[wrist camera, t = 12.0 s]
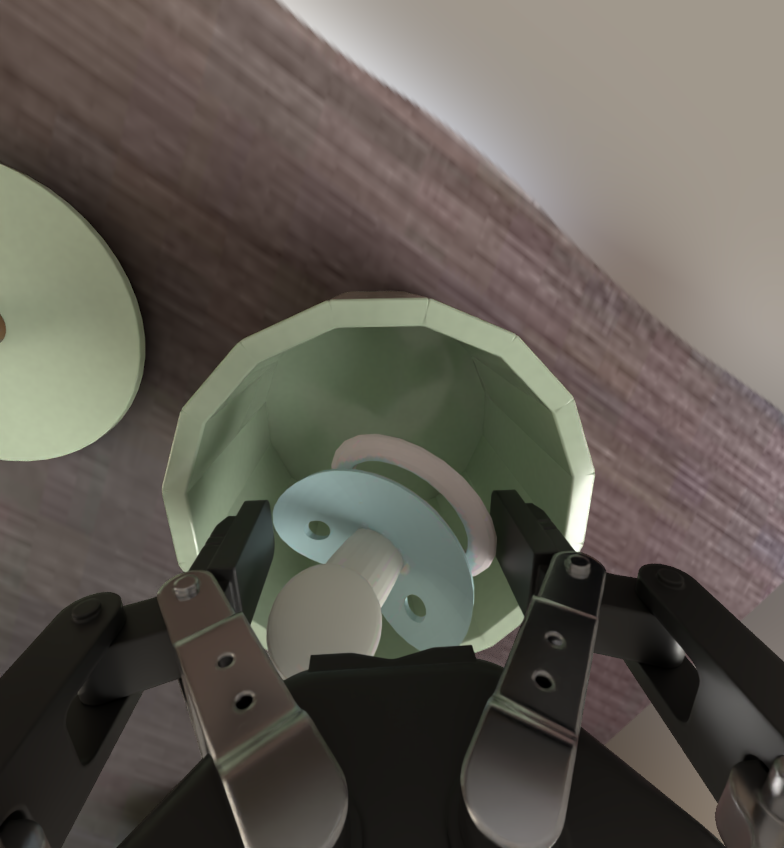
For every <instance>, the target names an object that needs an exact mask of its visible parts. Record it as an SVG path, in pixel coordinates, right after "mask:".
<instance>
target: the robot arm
mask: <svg viewBox="0 0 784 848" xmlns="http://www.w3.org/2000/svg"><path fill="white" fill-rule="evenodd" d="M490 516H491V518H492V521H493V525H494V528H495V532H496V536H497V547H496V555H495V556H496V558H497V560H498V562H499V564H500V567H501V569H502V571H503V573H504V575H505V577H506V579H507V581H508V584H509V586H510V588H511V590H512V592H513V594H514V596H515V598H516V601H517V603H518V605H519V607H520V609H521V611H522V613H523V615H524V618H523V621H522V623H521V626H520V629H519V631H518V634H517V636H516V639H515V641H514V644H513V646H512V649H511V651H510V654H509V656H508V659H507V662H506V664H505V667H504V668H503V667H501V666H499V665H497V664H494V663H492V662H488V661H485V660H481V659H476V657H475V653H474V650H473V646H472V645H462V646H446V647H432V648H429V649H426V650H422V651H419V652H416V653H413V654H409V655H406V656H403V657H399V658H396V659H387V658H381V657H375V656H369V655H363V654H357V653H335V654H319V655H311V656H310V662H309V669H308V670H305V671H302V672H299V673H297V674H295V675H292V676H291V677H289V678H287V679H285V680H282V678H281V676H280V675H279V673H278V671H277V670H276V668H275V666H274V665H273V663H272V661H271V659H270V658H269V656H268V654H267V653H266V651H265V649H264V648H263V646H262V644H261V642H260V641H259V639H258V637H257V636H256V634H255V632H254V631H253V629H252V627H251V622H252V619H253V616H254V613H255V610H256V607H257V604H258V601H259V598H260V596H261V593H262V590H263V587H264V584H265V581H266V578H267V575H268V572H269V569H270V566H271V563H272V560H273V556H274V549H275V540H274V532H273V524H272V517H271V509H270V503H269V501H268V500H248V501H244V503H243V504H242V506H241V508H240V510H239V511H238V513H237V515H236V516H228V517H226V518H225V519H224V520H222V521H221V522H220V523H219V524H217V525H216V527H215V528H214V530H213V532H212V533H211V535H210V537H209V538H208V540H207V541H206V543H205V546H203V548H202V549H201V551H200V553H199V554H198V556H197V557H196V559H195V561H194V562H193V564H192V566H191V567H190V569H189V570H188V571H187V572H184V573H181V574H179V575H176V576H175V577H173V578H171V579H170V580H168V581H167V582H166V583H164V584H163V585H162V587H161V588H160V589H159V591H158V593H157V597H154V598H151V599H148V600H144V601H141V602H137V603H133V604H129V605H126V606H123V604H122V601H121V598H120V596H119V595H117V594H115V593H111V592H103V593H97V594H93V595H89V596H86V597H84V598H81V599H79V600H77V601H75V602H74V603H72V604H70V605H69V606H67V607H66V608H65V609H63V610H62V611H61V612H60V613H59V614H58V615H57V616H56V617H55V618H54V619H53V620H52V622H51V623H50V624H49V625H48V626H47V627H46V628H45V629H44V630H43V632H42V633H41V634H40V635H39V636H38V637H37V638H36V639H35V640H34V641H33V643H32V644H31V645H30V646H29V647H28V648H27V649H26V650H25V651H24V653H23V654H22V655H21V656H20V657H19V658H18V659H17V660H16V661H15V662H14V664H13V665H12V666H11V667H10V668H9V669H8V670H7V671H6V672H5V673H4V675H3V676H2V677H1V678H0V848H61V847H62V845H63V843H64V841H65V839H66V837H67V836H68V834H69V832H70V830H71V828H72V826H73V824H74V822H75V820H76V818H77V817H78V815H79V813H80V811H81V809H82V807H83V805H84V803H85V801H86V799H87V797H88V796H89V794H90V792H91V790H92V788H93V786H94V784H95V782H96V780H97V778H98V777H99V775H100V773H101V771H102V769H103V767H104V765H105V763H106V761H107V759H108V758H109V756H110V754H111V752H112V750H113V748H114V746H115V744H116V742H117V740H118V738H119V737H120V735H121V733H122V731H123V729H124V727H125V725H126V723H127V721H128V719H129V718H130V716H131V714H132V712H133V710H134V708H135V706H136V704H137V702H138V700H139V698H140V697H141V695H142V693H143V691H144V690H147V689H150V688H153V687H156V686H158V685H161V684H164V683H167V682H170V681H173V680H176V679H178V683H179V686H180V689H181V692H182V695H183V698H184V701H185V704H186V708H187V711H188V714H189V717H190V720H191V723H192V726H193V729H194V733H195V736H196V739H197V743H198V746H199V750H200V753H201V757H202V760H201V761H200V762H199V763H198V764H197V765H196V766H195V767H194V768H193V769H192V770H191V771H190V772H189V773H188V774H187V775H186V776H185V777H184V778H183V779H182V780H181V781H180V782H179V784H178V785H177V786H176V787H175V788H174V789H173V790H172V791H171V792H170V793H169V794H168V795H167V796H166V797H165V798H164V799H163V800H162V801H161V802H160V803H159V804H158V805H157V806H156V807H155V808H154V809H153V810H152V811H151V813H150V814H149V815H148V816H147V817H146V818H145V819H144V820H143V821H142V822H141V823H140V824H139V825H138V826H137V827H136V828H135V829H134V830H133V831H132V832H131V833H130V834H129V835H128V836H127V837H126V838H125V839H124V840H123V842H122V843H121V844H120V845H119V846H118V847H117V848H784V662H783V661H782V660H781V659H780V658H779V657H778V656H777V655H776V654H775V653H774V652H773V651H772V650H770V649H769V648H768V647H767V646H766V645H765V644H764V643H763V642H762V641H761V640H760V639H759V638H757V637H756V636H755V635H754V634H753V633H752V632H751V631H750V630H749V629H748V628H746V626H744V625H743V624H742V623H741V622H740V621H739V620H738V619H737V618H736V617H735V616H734V615H733V614H732V613H731V612H729V611H728V610H727V609H726V608H725V607H724V606H723V605H722V604H721V603H720V602H719V601H718V600H716V599H715V598H714V597H713V596H712V595H711V594H710V593H709V592H708V591H707V590H706V589H705V588H704V587H702V586H701V585H700V584H699V583H698V582H697V581H696V580H695V579H694V578H692V577H691V576H690V575H688V574H687V573H685V572H683V571H681V570H679V569H676V568H674V567H671V566H667V565H662V564H647V565H644V566H642V567H641V568H640V569H639V573H638V577H637V578H633V577H626V576H620V575H614V574H610V573H606V570H605V568H604V566H603V565H602V564H601V563H600V562H599V561H598V560H596V559H595V558H593V557H591V556H589V555H587V554H584V553H581V552H577V551H575V550H574V549H573V548H572V546H571V545H570V544H569V542H568V541H567V540H566V539H565V537H564V536H563V535H562V533H561V532H560V531H559V530H558V529H557V527H556V526H555V524H554V523H553V522H552V521H551V519H550V518H549V517H548V515H547V514H546V513H545V512H544V510H542V509H541V508H539V507H537V506H536V505H534V504H533V503H525V502H524V501H523V499H522V498H521V496H520V495H519V494H518V492H517V491H516V490H515V489H512V490H493V492H492V494H491V505H490ZM593 653H597V654H602V655H606V656H611V657H616V658H620V659H623V660H624V661H625V663H626V665H627V666H628V668H629V669H630V671H631V672H632V674H633V675H634V677H635V678H636V680H637V681H638V683H639V684H640V686H641V687H642V689H643V690H644V692H645V694H646V695H647V697H648V698H649V700H650V701H651V703H652V704H653V706H654V707H655V709H656V710H657V712H658V713H659V715H660V716H661V718H662V719H663V721H664V722H665V724H666V725H667V727H668V728H669V730H670V731H671V733H672V735H673V736H674V737H675V739H676V740H677V742H678V744H679V745H680V746H681V748H682V750H683V751H684V753H685V754H686V756H687V757H688V759H689V760H690V762H691V763H692V765H693V766H694V768H695V769H696V771H697V772H698V774H699V776H700V777H701V778H702V780H703V782H704V783H705V784H706V786H707V788H708V789H709V791H710V792H711V794H712V795H713V797H714V798H715V800H716V801H717V803H718V805H717V808H716V812H715V820H716V825H717V829H718V831H719V834H720V837H721V839H722V840H723V842H724V844H725V846H726V847H725V846H724V845H723V844H722V843H721V842H720V841H719V840H718V839H717V838H716V837H715V836H714V835H713V834H712V833H711V832H710V831H708V830H707V829H706V828H705V827H704V826H703V825H702V824H700V823H699V822H698V821H697V820H695V819H694V818H693V817H692V816H691V815H689V814H688V813H687V812H686V811H684V810H683V809H682V808H681V807H679V806H678V805H677V804H675V803H674V802H673V801H672V800H671V799H670V798H668V797H667V796H666V795H665V794H663V793H662V792H661V791H660V790H658V789H657V788H656V787H655V786H653V785H652V784H651V783H650V782H649V781H647V780H646V779H645V778H644V777H642V776H641V775H640V774H639V773H637V772H636V771H635V770H634V769H632V768H631V767H630V766H629V765H628V764H626V763H625V762H624V761H623V760H621V759H620V758H619V757H618V756H617V755H615V754H614V753H613V752H612V751H610V750H609V749H608V748H607V747H605V746H604V745H603V744H602V743H601V742H599V741H598V740H597V739H596V738H594V737H593V736H592V735H591V734H589V733H588V732H587V731H586V730H584V729H583V728H582V727H581V721H582V716H583V710H584V704H585V698H586V692H587V686H588V681H589V675H590V669H591V663H592V657H593ZM685 653H686V654H687V655H688V656H689V658H690V659H691V660H692V661H693V663H694V665H695V666H696V668H695V667H694V666H693V665H692V664H691V662H690V661H689V660H688V659H687V658H686V656H685ZM696 669H697V670H696Z"/></svg>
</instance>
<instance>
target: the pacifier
mask: <svg viewBox="0 0 784 848" xmlns="http://www.w3.org/2000/svg"><path fill="white" fill-rule="evenodd" d="M365 461H381V462H385V463H389V464H393V465H397V466H399V467H401V468H404V469H406V470H408V471H410V472H412V473H414V474H416V475H417V476H419V477H420V478H422V479H423V480H425V481H427V482H428V483H429V484H430V485H432V486H433V487H434V488H435V489H436V490H437V491H438V492H440V493H441V494H442V495H443V496H444V497H445V498H446V500H447V501H448V502H449V503H450V504H451V505H452V507H453V508H454V509H455V511H456V512H457V514H458V516H459V517H460V519H461V521H462V523H463V524H464V527H465V531H466V534H467V537H468V547H467V549H465V550H463V548H462V546H461V544H460V542H459V541H458V539H457V537H456V536H455V534H454V532H453V531H452V530H451V528H450V527H449V525H448V524H447V523H446V522H445V520H444V519H443V518H442V517H441V516H440V515H439V513H438V512H437V511H436V510H435V509H434V508H433V507H432V506H430V505H429V504H428V503H427V502H426V501H425V500H423V499H422V498H421V497H420V496H418V495H417V494H416V493H414V492H413V491H411V490H410V489H408V488H406V487H405V486H403V485H401V484H400V483H398V482H395V481H393V480H391V479H389V478H386V477H384V476H381V475H378V474H376V473H371V472H367V471H363V470H357V469H356V466H357V465H358V464H359V463H362V462H365ZM331 468H332V469H330V470H323V471H320V472H317V473H314V474H311V475H310V476H307V477H305V478H303V479H301V480H300V481H298V482H297V483H295V484H294V485H292V486H291V487H290V488H288V489H287V490H286V491H285V492H284V493H283V494H282V495H281V496H280V497H279V499H278V501H277V502H276V504H275V506H274V510H273V524H274V527H275V529H276V531H277V532H278V534H279V536H280V537H281V539H282V540H283V541H284V542H286V543H287V544H288V545H289V546H290V547H291V548H292V549H294V550H295V551H297V552H298V553H300V554H302V555H304V556H306V557H308V558H309V559H312V560H314V561H317V562H319V563H322V564H319V565H315V566H312V567H309V568H307V569H305V570H303V571H301V572H300V573H298V574H297V575H295V576H294V577H293V578H292V579H290V580H289V581H288V582H287V583H286V584H285V586H284V587H283V588H282V590H281V591H280V592H279V594H278V596H277V597H276V599H275V601H274V603H273V606H272V608H271V611H270V614H269V618H268V623H267V633H266V642H267V648H268V653H269V656H270V659H271V661H272V663H273V665H274V666H275V668H276V670H277V671H278V673H279V675H280V676H281V677H282V678H283V679H284V680H285V679H287V678H289V677H291V676H292V675H295V674H297V673H299V672H302V671H305V670H308V669H309V662H310V656H311V655H319V654H335V653H357V654H363V655H369V656H374V654H375V652H376V650H377V647H378V644H379V640H380V636H381V629H382V614H383V615H384V617H385V618H386V620H387V621H388V622H389V624H390V625H391V626H392V627H393V628H394V630H395V631H396V632H397V633H398V634H399V635H400V636H401V637H402V638H404V639H405V640H406V641H407V642H408V643H409V644H410V645H412V646H414V647H415V648H416V649H418V650H420V651H422V650H426V649H429V648H432V647H446V646H459V645H460V644H461V643H462V641H463V640H464V638H465V636H466V634H467V632H468V629H469V626H470V623H471V618H472V611H473V606H474V582H473V576H476V575H478V574H479V573H481V572H482V571H484V570H485V569H487V568H488V567H489V566H490V564H491V562H492V561H493V559H494V557H495V555H496V547H497V536H496V532H495V528H494V525H493V521H492V518H491V516H490V514H489V513H488V511H487V509H486V507H485V506H484V504H483V502H482V500H481V498H480V497H479V496H478V494H477V493H476V492H475V491H474V490H473V488H472V487H471V486H470V485H469V484H468V482H467V481H466V480H465V479H464V478H463V477H462V476H461V475H460V474H459V473H457V472H456V471H455V470H454V469H453V468H452V467H450V466H449V465H448V464H447V463H446V462H445V461H443V460H442V459H440V458H438V457H437V456H435V455H434V454H432V453H430V452H429V451H427V450H426V449H424V448H422V447H420V446H418V445H415V444H413V443H410V442H408V441H405V440H403V439H400V438H396V437H391V436H386V435H381V434H365V435H357V436H355V437H353V438H350V439H348V440H345V441H344V442H343V443H342V444H341V446H340V447H339V448H338V449H337V450H336V451H335V455H334V458H333V461H332V465H331ZM310 521H321V522H324V523H326V524H327V525H328V526H329V528H330V534H329V535H326V536H320V535H316V534H314V533H313V532H312V531H311V530H310V529H309V522H310ZM411 594H413V595H416V596H418V597H419V598H420V599H421V600H422V601H423V603H424V605H425V608H426V615H425V616H423V617H420V616H417V615H415V614H414V613H413V612H412V611H411V609H410V608H409V605H408V602H407V596H408V595H411Z"/></svg>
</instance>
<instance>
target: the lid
mask: <svg viewBox="0 0 784 848" xmlns="http://www.w3.org/2000/svg"><path fill="white" fill-rule="evenodd" d="M144 363H145V334H144V327H143V321H142V316H141V313H140V309H139V305H138V302H137V299H136V296H135V294H134V291H133V289H132V286H131V284H130V282H129V279H128V277H127V276H126V274H125V272H124V270H123V268H122V266H121V265H120V263H119V261H118V259H117V258H116V256H115V255H114V254H113V252H112V251H111V249H110V248H109V246H108V245H107V243H106V242H105V241H104V239H103V238H102V237H101V236H100V235H99V234H98V232H97V231H96V230H95V229H94V228H93V227H92V226H91V224H90V223H89V222H88V221H87V220H86V219H85V218H84V217H83V216H82V215H81V214H80V213H78V212H77V211H76V210H75V209H74V208H73V207H72V206H71V205H70V204H69V203H67V202H66V201H65V200H64V199H62V198H61V197H60V196H58V195H57V194H56V193H54V192H53V191H52V190H50V189H49V188H47V187H46V186H44V185H42V184H41V183H39V182H38V181H36V180H34V179H33V178H31V177H29V176H28V175H26V174H24V173H21V172H19V171H17V170H15V169H13V168H11V167H9V166H7V165H4V164H2V163H0V460H8V461H35V460H46V459H51V458H55V457H60V456H64V455H67V454H70V453H72V452H75V451H78V450H80V449H82V448H84V447H86V446H88V445H89V444H91V443H93V442H95V441H97V440H98V439H100V438H101V437H102V436H104V435H105V434H106V433H108V432H109V431H110V430H112V429H113V427H114V426H115V425H116V424H117V423H118V422H119V421H120V420H121V419H122V418H123V417H124V415H125V414H126V412H127V411H128V409H129V408H130V406H131V405H132V403H133V400H134V398H135V396H136V394H137V392H138V390H139V386H140V383H141V379H142V376H143V370H144Z"/></svg>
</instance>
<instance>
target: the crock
mask: <svg viewBox="0 0 784 848" xmlns="http://www.w3.org/2000/svg"><path fill="white" fill-rule="evenodd" d="M365 434H381V435H386V436H391V437H396V438H400V439H403V440H405V441H408V442H410V443H413V444H415V445H418V446H420V447H422V448H424V449H426V450H427V451H429V452H430V453H432V454H434V455H435V456H437V457H438V458H440V459H442V460H443V461H445V462H446V463H447V464H448V465H449V466H450V467H452V468H453V469H454V470H455V471H456V472H457V473H459V474H460V475H461V476H462V477H463V478H464V479H465V480H466V481H467V482H468V484H469V485H470V486H471V487H472V488H473V490H474V491H475V492H476V493H477V494H478V496H479V497H480V498H481V500H482V502H483V504H484V506H485V507H486V509H487V511H488V513H489V514H490V505H491V494H492V492H493V490H512V489H515V490H516V491H517V492H518V494H519V495H520V496H521V498H522V499H523V501H524V502H525V503H533V504H534V505H536V506H537V507H539V508H541V509H542V510H544V512H545V513H546V514H547V515H548V517H549V518H550V519H551V521H552V522H553V523H554V524H555V526H556V527H557V529H558V530H559V531H560V532H561V533H562V535H563V536H564V537H565V539H566V540H567V541H568V542H569V544H570V545H571V546H572V548H573V549H574V550H575V551H577V552H579V551H580V550H581V548H582V546H583V543H584V539H585V533H586V527H587V521H588V515H589V508H590V502H591V496H592V490H593V484H594V478H595V473H594V471H595V470H594V466H593V463H592V459H591V456H590V452H589V449H588V445H587V442H586V438H585V435H584V432H583V428H582V425H581V421H580V418H579V414H578V411H577V407H576V404H575V400H574V399H573V396H572V395H571V394H570V393H569V391H568V390H567V389H566V388H565V387H564V386H563V385H562V384H561V383H560V381H559V380H558V379H557V378H556V377H555V376H554V375H553V374H552V373H551V371H550V370H549V369H548V368H547V367H546V366H545V365H544V364H543V363H542V362H541V360H540V359H539V358H538V357H537V356H536V355H535V354H534V353H533V352H532V350H531V349H530V348H529V347H528V346H527V345H526V344H525V343H524V342H523V341H522V339H521V338H520V337H519V336H518V335H515V334H514V333H513V332H510V331H508V330H505V329H503V328H501V327H498V326H496V325H494V324H491V323H489V322H486V321H484V320H482V319H479V318H477V317H475V316H472V315H470V314H467V313H465V312H463V311H460V310H458V309H455V308H453V307H451V306H448V305H446V304H444V303H441V302H439V301H436V300H434V299H432V298H427V297H423V296H419V295H415V294H411V293H407V292H403V291H353V292H345V293H343V294H340V295H338V296H336V297H333V298H331V299H328V300H326V301H324V302H322V303H320V304H317V305H315V306H313V307H311V308H309V309H307V310H304V311H302V312H300V313H298V314H296V315H294V316H291V317H289V318H287V319H285V320H283V321H281V322H278V323H276V324H274V325H272V326H270V327H268V328H265V329H263V330H261V331H259V332H257V333H255V334H252V335H250V336H248V337H246V338H244V339H242V340H241V341H240V342H238V343H237V344H236V345H235V346H234V347H233V348H232V350H231V351H230V352H229V353H228V354H227V356H226V357H225V358H224V359H223V360H222V361H221V363H220V364H219V365H218V366H217V367H216V369H215V370H214V371H213V372H212V373H211V374H210V376H209V377H208V378H207V379H206V380H205V382H204V383H203V384H202V385H201V386H200V387H199V389H198V390H197V391H196V392H195V393H194V395H193V396H192V397H191V398H190V399H189V400H188V402H187V403H186V404H185V405H184V406H183V408H182V411H181V412H180V414H179V418H178V423H177V427H176V431H175V435H174V439H173V443H172V447H171V451H170V455H169V459H168V464H167V468H166V472H165V476H164V480H163V484H162V496H163V500H164V505H165V509H166V513H167V518H168V522H169V527H170V531H171V535H172V540H173V544H174V549H175V553H176V557H177V562H178V563H179V566H180V568H181V569H182V570H183V571H184V572H187V571H188V570H189V569H190V567H191V566H192V564H193V562H194V561H195V559H196V557H197V556H198V554H199V553H200V551H201V549H202V548H203V546H205V543H206V541H207V540H208V538H209V537H210V535H211V533H212V532H213V530H214V528H215V527H216V525H217V524H219V523H220V522H221V521H222V520H224V519H225V518H226V517H228V516H236V515H237V513H238V511H239V510H240V508H241V506H242V504H243V503H244V501H248V500H268V501H269V503H270V509H271V517H272V524H273V510H274V506H275V504H276V502H277V501H278V499H279V497H280V496H281V495H282V494H283V493H284V492H285V491H286V490H287V489H288V488H290V487H291V486H292V485H294V484H295V483H297V482H298V481H300V480H301V479H303V478H305V477H307V476H310V475H311V474H314V473H317V472H320V471H323V470H330V469H332V468H331V465H332V461H333V458H334V455H335V451H336V450H337V449H338V448H339V447H340V446H341V444H342V443H343V442H344V441H345V440H348V439H350V438H353V437H355V436H357V435H365ZM356 469H357V470H363V471H367V472H371V473H376V474H378V475H381V476H384V477H386V478H389V479H391V480H393V481H395V482H398V483H400V484H401V485H403V486H405V487H406V488H408V489H410V490H411V491H413V492H414V493H416V494H417V495H418V496H420V497H421V498H422V499H423V500H425V501H426V502H427V503H428V504H429V505H430V506H432V507H433V508H434V509H435V510H436V511H437V512H438V513H439V515H440V516H441V517H442V518H443V519H444V520H445V522H446V523H447V524H448V525H449V527H450V528H451V530H452V531H453V532H454V534H455V536H456V537H457V539H458V541H459V542H460V544H461V546H462V548H463V550H465V549H467V547H468V537H467V534H466V531H465V527H464V524H463V523H462V521H461V519H460V517H459V516H458V514H457V512H456V511H455V509H454V508H453V507H452V505H451V504H450V503H449V502H448V501H447V500H446V498H445V497H444V496H443V495H442V494H441V493H440V492H438V491H437V490H436V489H435V488H434V487H433V486H432V485H430V484H429V483H428V482H427V481H425V480H423V479H422V478H420V477H419V476H417V475H416V474H414V473H412V472H410V471H408V470H406V469H404V468H401V467H399V466H397V465H393V464H389V463H385V462H381V461H365V462H362V463H359V464H358V465H357V466H356ZM309 529H310V530H311V531H312V532H313V533H314V534H316V535H320V536H326V535H329V534H330V528H329V526H328V525H327V524H326V523H324V522H321V521H310V522H309ZM273 532H274V540H275V549H274V556H273V560H272V563H271V566H270V569H269V572H268V575H267V578H266V581H265V584H264V587H263V590H262V593H261V596H260V598H259V601H258V604H257V607H256V610H255V613H254V616H253V619H252V622H251V627H252V629H253V631H254V632H255V634H256V636H257V637H258V639H259V641H260V642H261V644H262V646H263V648H264V649H266V650H268V648H267V642H266V633H267V623H268V618H269V614H270V611H271V608H272V606H273V603H274V601H275V599H276V597H277V596H278V594H279V592H280V591H281V590H282V588H283V587H284V586H285V584H286V583H287V582H288V581H289V580H290V579H292V578H293V577H294V576H295V575H297V574H298V573H300V572H301V571H303V570H305V569H307V568H309V567H312V566H315V565H319V564H322V563H319V562H317V561H314V560H312V559H309V558H308V557H306V556H304V555H302V554H300V553H298V552H297V551H295V550H294V549H292V548H291V547H290V546H289V545H288V544H287V543H286V542H284V541H283V540H282V539H281V537H280V536H279V534H278V532H277V531H276V529H275V527H274V524H273ZM473 582H474V606H473V611H472V618H471V623H470V626H469V629H468V632H467V634H466V636H465V638H464V640H463V641H462V643H461V644H460V645H459V646H462V645H472V646H473V650H474V653H476V652H479V651H482V650H484V649H487V648H489V647H492V646H493V645H495V644H496V643H497V642H498V641H500V640H501V639H502V638H504V637H505V636H506V635H507V634H509V633H510V632H511V631H513V630H514V629H515V628H516V627H518V626H519V625H520V624H521V623H522V621H523V618H524V615H523V613H522V611H521V609H520V607H519V605H518V603H517V601H516V598H515V596H514V594H513V592H512V590H511V588H510V586H509V584H508V581H507V579H506V577H505V575H504V573H503V571H502V569H501V567H500V564H499V562H498V560H497V558H496V556H495V557H494V559H493V561H492V562H491V564H490V566H489V567H488V568H487V569H485V570H484V571H482V572H481V573H479V574H478V575H476V576H473ZM407 602H408V605H409V608H410V609H411V611H412V612H413V613H414V614H415V615H417V616H420V617H423V616H425V615H426V608H425V605H424V603H423V601H422V600H421V599H420V598H419V597H418V596H416V595H413V594H411V595H408V596H407ZM419 651H420V650H418V649H416V648H415V647H414V646H412V645H410V644H409V643H408V642H407V641H406V640H405V639H404V638H402V637H401V636H400V635H399V634H398V633H397V632H396V631H395V630H394V628H393V627H392V626H391V625H390V624H389V622H388V621H387V620H386V618H385V617H384V615H383V614H382V629H381V636H380V640H379V644H378V647H377V650H376V652H375V654H374V656H375V657H381V658H387V659H396V658H399V657H403V656H406V655H409V654H413V653H416V652H419Z"/></svg>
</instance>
